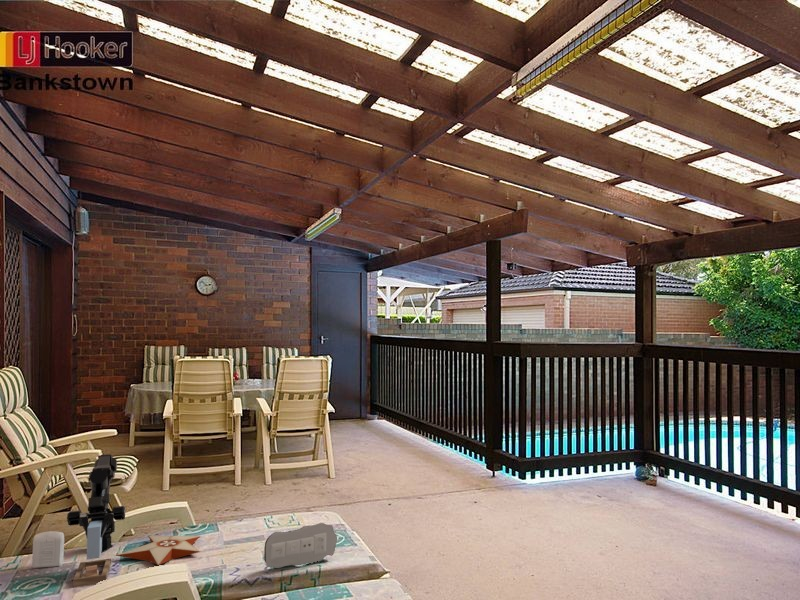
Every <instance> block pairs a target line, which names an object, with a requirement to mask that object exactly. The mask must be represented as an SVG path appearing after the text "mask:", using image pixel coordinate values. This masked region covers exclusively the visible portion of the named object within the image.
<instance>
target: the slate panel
mask: <svg viewBox="0 0 800 600" xmlns="http://www.w3.org/2000/svg"><path fill="white" fill-rule="evenodd" d="M102 521H103V520H101V521H92V522H90V523H89V522H88V523H89V526H88V528H87V537H86V560H93V559H100V557H101V554H102V552H101V551H102V537H100V536H101V529H102Z"/></svg>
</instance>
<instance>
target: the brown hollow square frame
mask: <svg viewBox="0 0 800 600" xmlns="http://www.w3.org/2000/svg"><path fill="white" fill-rule="evenodd" d="M94 565H97V568H99V567H103V569H102V573H101V574H99V575H95V576H88V577H83V574H84V572H85V571H86V567H88V566H94ZM111 565H112V558H110V557H109V558H105V559H98V560H97V559H96V560H91V561H90V560H89V561H80V562H79V565H78V567H77V570H76V572H75V575H74V578H73V581H72V582H73V583H72V584H73V585H72V588H79V587H84V586H91V585H93V586H94V585H97V584H96V583H98V582H100V581H103V580H106V579H108V576H109V573H110V569H111Z"/></svg>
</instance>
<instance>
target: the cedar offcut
mask: <svg viewBox="0 0 800 600" xmlns="http://www.w3.org/2000/svg"><path fill="white" fill-rule="evenodd" d="M97 571H98V567H97V565H94V566H88V567H86V569H85V571H84V572H85V573H86V577H87V576H92V575H97Z"/></svg>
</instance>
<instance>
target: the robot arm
mask: <svg viewBox="0 0 800 600" xmlns="http://www.w3.org/2000/svg"><path fill="white" fill-rule="evenodd" d="M117 471H118V461H117V458H114V457H113V454H111V453H110V454H109V453H107V454H100V455H98V458H97V459H95V461H94V467H93V468H92V470H91V471H89V476H88V482H89V484H90V489H91V491H90V493H91V494H90V497H88V503H87V511H88V512H81V510H79V509H78V510H73V511H69V512H68V513H67V515H66V520H67V525H68V526H78V525H79V526H80V527H82V528H83V530H84V533H85V536H86V538H87V528H88V526H89V523H90V522H92V521H101V520H103V521H102V529H101V536H100V537H102V551H101V553H104V552H106V551H108V550H109V549H110V548H112V547H113V546H114V544H112V535H111V534H113V533H115V528H116V525H115V521H123V520H126V507H125V506H124V505H119V506H113V507H112V510H111V508H109V504H110V503H111V494H110V488H111V482H112V481H113V480H114V478H115V477H116V475H115V473H116V472H117ZM89 519H90V520H89Z"/></svg>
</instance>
